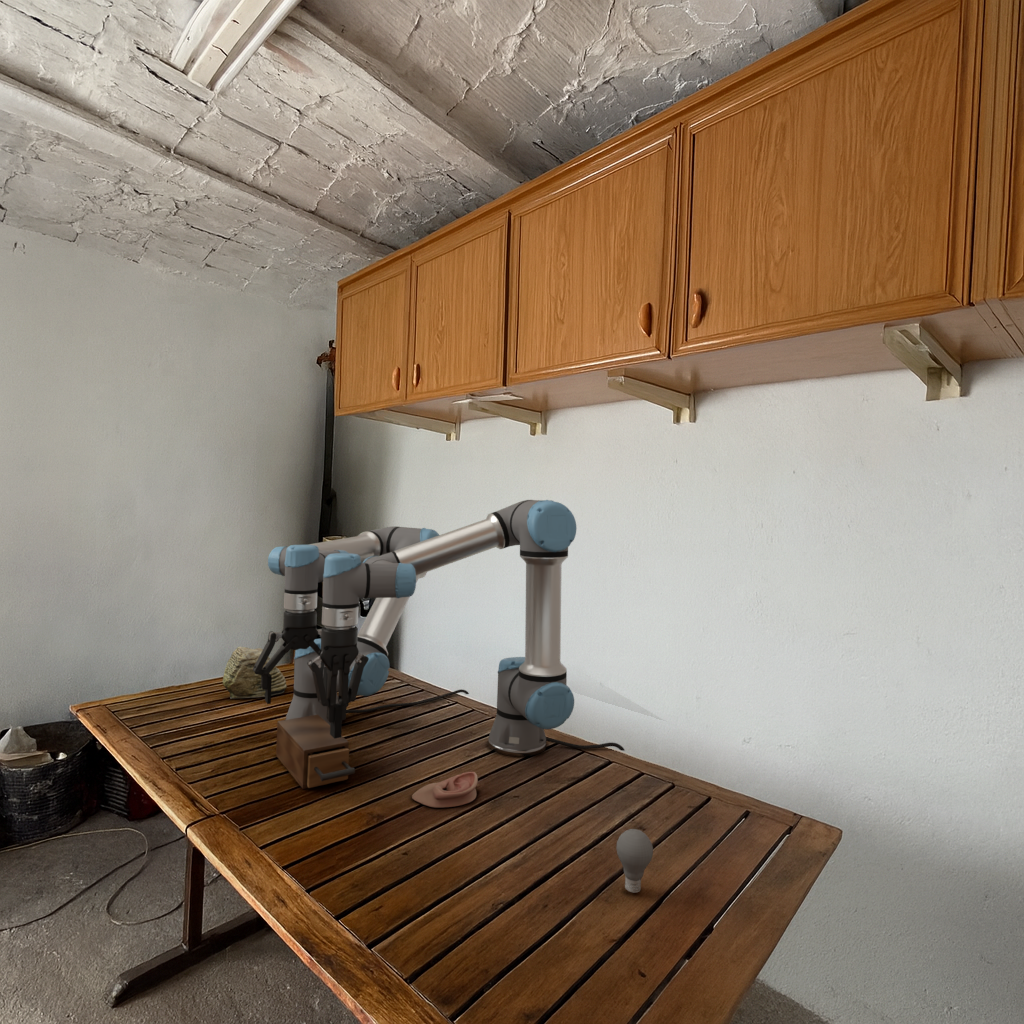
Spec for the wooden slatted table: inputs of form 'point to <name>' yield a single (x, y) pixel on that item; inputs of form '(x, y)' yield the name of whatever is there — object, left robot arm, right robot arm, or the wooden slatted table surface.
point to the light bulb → (634, 857)
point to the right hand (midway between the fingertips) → (335, 735)
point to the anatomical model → (449, 791)
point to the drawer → (328, 766)
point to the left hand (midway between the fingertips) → (297, 698)
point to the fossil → (249, 675)
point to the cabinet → (303, 743)
